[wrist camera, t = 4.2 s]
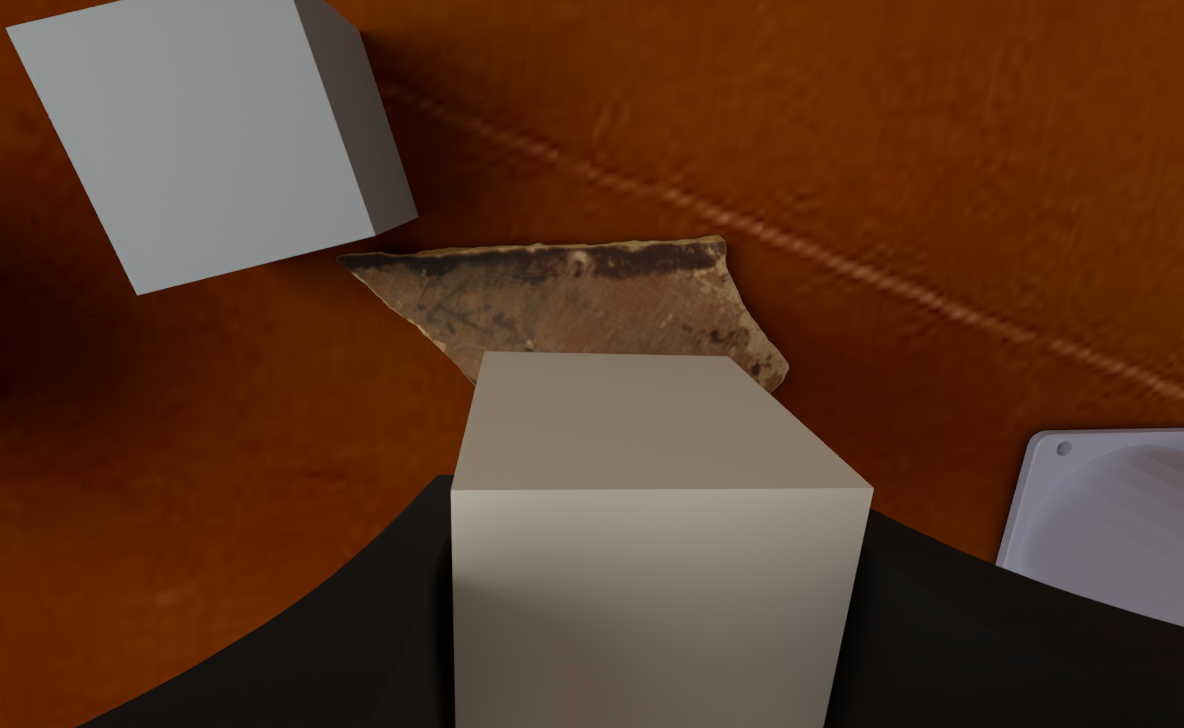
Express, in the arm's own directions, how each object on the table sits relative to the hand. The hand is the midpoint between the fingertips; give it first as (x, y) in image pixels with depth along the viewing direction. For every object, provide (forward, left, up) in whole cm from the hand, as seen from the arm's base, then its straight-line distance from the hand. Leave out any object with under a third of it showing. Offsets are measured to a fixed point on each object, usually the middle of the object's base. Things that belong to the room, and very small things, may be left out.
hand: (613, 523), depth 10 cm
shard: (0, 0, -9) cm, 9 cm away
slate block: (+7, -6, -8) cm, 12 cm away
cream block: (0, 0, -2) cm, 2 cm away
